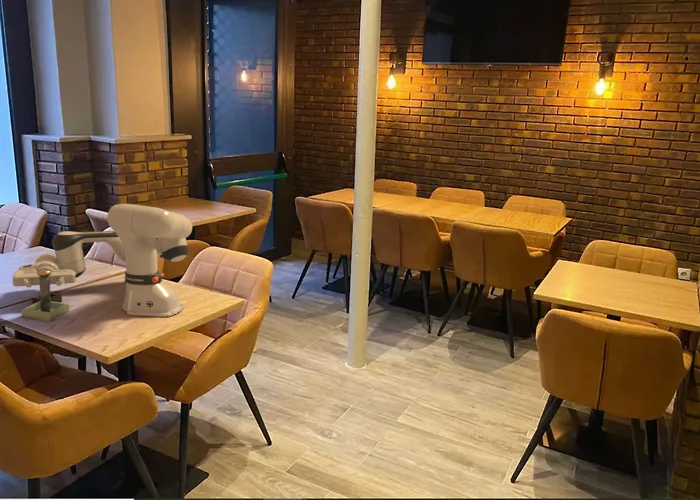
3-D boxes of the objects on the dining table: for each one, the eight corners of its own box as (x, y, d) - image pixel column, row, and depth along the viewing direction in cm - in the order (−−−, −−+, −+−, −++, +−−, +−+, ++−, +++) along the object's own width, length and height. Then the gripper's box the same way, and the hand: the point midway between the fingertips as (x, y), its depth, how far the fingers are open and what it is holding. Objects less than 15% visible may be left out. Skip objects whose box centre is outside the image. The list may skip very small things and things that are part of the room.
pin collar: (62, 301, 217) (61, 294, 216) (50, 307, 210) (49, 300, 209) (45, 299, 218) (44, 292, 217) (32, 305, 211) (32, 297, 210)
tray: (68, 311, 208) (68, 303, 207) (49, 321, 198) (49, 313, 197) (42, 308, 209) (41, 300, 208) (21, 317, 199) (21, 309, 198)
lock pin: (55, 310, 205) (54, 269, 201) (47, 314, 201) (45, 273, 197) (44, 309, 206) (42, 268, 202) (35, 313, 201) (34, 271, 198)
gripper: (76, 279, 220) (76, 290, 208) (15, 283, 212) (11, 294, 200) (75, 263, 219) (75, 274, 207) (14, 266, 210) (10, 277, 198)
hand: (43, 284), depth 203 cm, fingers open, 8 cm apart
